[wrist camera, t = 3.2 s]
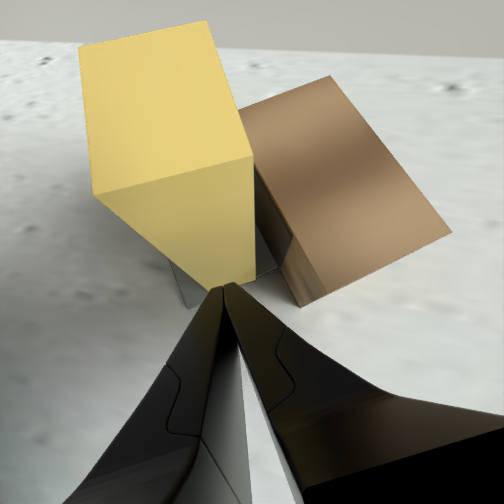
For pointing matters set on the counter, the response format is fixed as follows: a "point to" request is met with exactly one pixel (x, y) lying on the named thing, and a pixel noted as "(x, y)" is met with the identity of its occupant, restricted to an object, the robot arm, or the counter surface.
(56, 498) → the counter surface
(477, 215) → the counter surface
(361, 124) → the brown box
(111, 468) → the robot arm
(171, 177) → the yellow block
